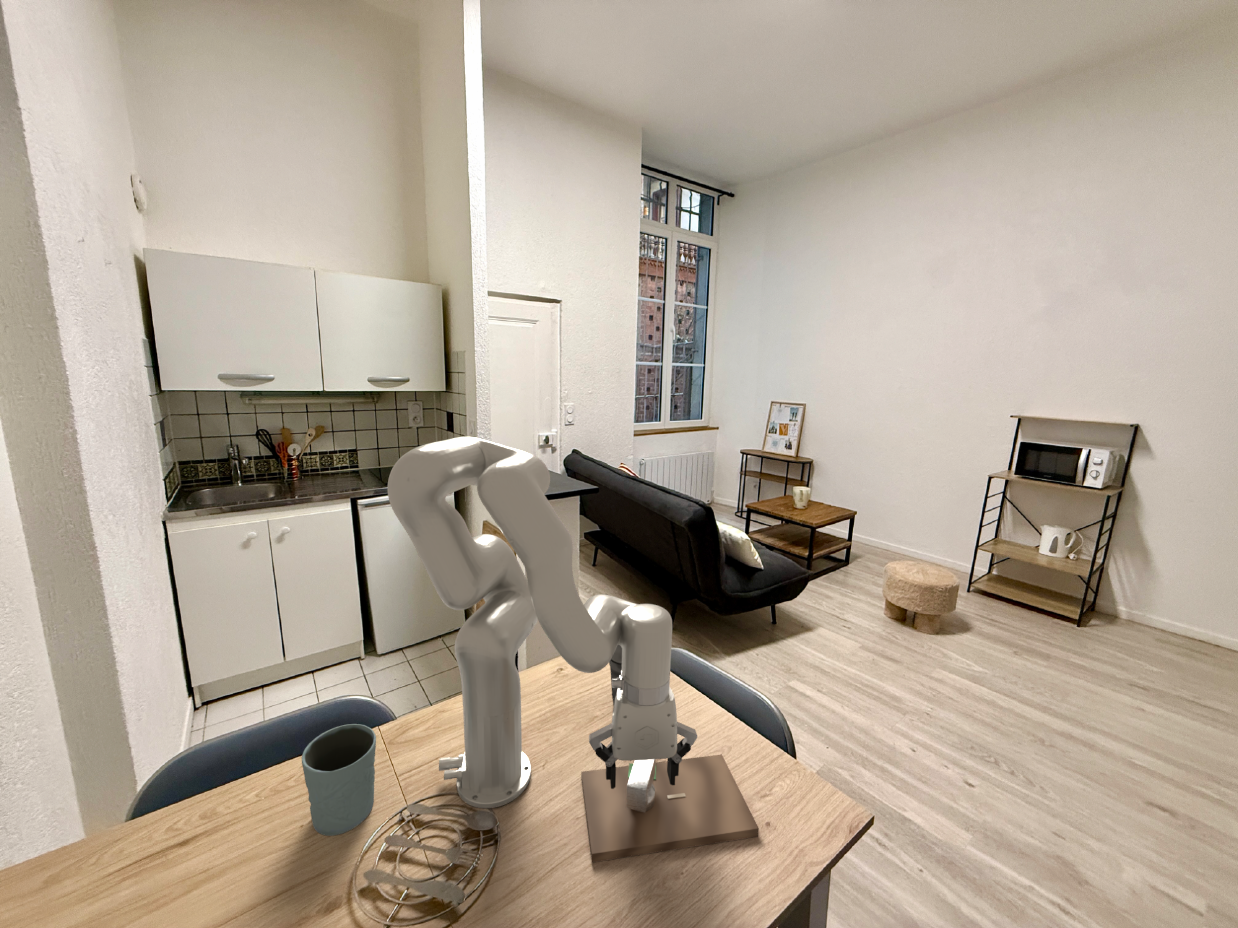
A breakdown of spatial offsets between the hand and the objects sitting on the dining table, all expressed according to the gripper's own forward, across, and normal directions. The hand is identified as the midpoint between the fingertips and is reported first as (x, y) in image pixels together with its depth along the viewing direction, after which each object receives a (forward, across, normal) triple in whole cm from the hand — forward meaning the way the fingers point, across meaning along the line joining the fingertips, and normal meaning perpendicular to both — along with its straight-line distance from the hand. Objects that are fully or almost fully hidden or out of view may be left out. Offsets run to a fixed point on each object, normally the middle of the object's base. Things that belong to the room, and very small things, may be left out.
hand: (641, 779), depth 79 cm
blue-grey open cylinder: (+6, -47, +3) cm, 48 cm away
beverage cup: (+6, 0, +26) cm, 27 cm away
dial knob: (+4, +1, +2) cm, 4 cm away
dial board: (+6, +4, 0) cm, 7 cm away
